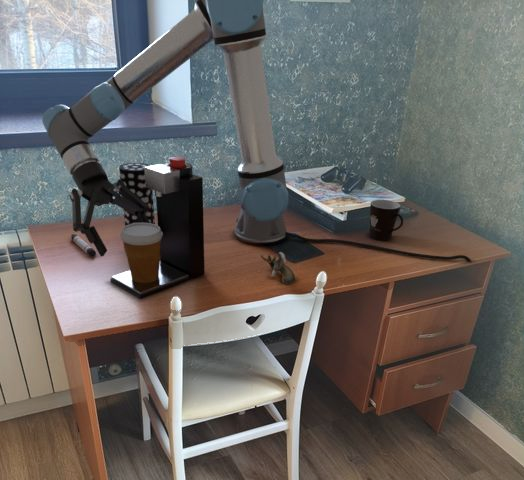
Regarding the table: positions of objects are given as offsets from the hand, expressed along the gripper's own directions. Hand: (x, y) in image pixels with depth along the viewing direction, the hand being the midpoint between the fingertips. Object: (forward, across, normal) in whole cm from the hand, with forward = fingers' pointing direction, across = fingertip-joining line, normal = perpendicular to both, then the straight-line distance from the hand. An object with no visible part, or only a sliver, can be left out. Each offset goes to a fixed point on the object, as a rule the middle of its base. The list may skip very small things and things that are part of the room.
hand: (128, 246), depth 128 cm
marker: (-11, -1, -22) cm, 25 cm away
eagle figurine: (+23, -26, +12) cm, 37 cm away
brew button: (-9, -11, +17) cm, 22 cm away
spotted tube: (-8, -16, -19) cm, 26 cm away
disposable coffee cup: (+8, 0, 0) cm, 9 cm away
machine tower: (+10, -11, -1) cm, 15 cm away
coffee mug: (+25, -70, +14) cm, 76 cm away
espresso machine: (+10, -1, -1) cm, 10 cm away
